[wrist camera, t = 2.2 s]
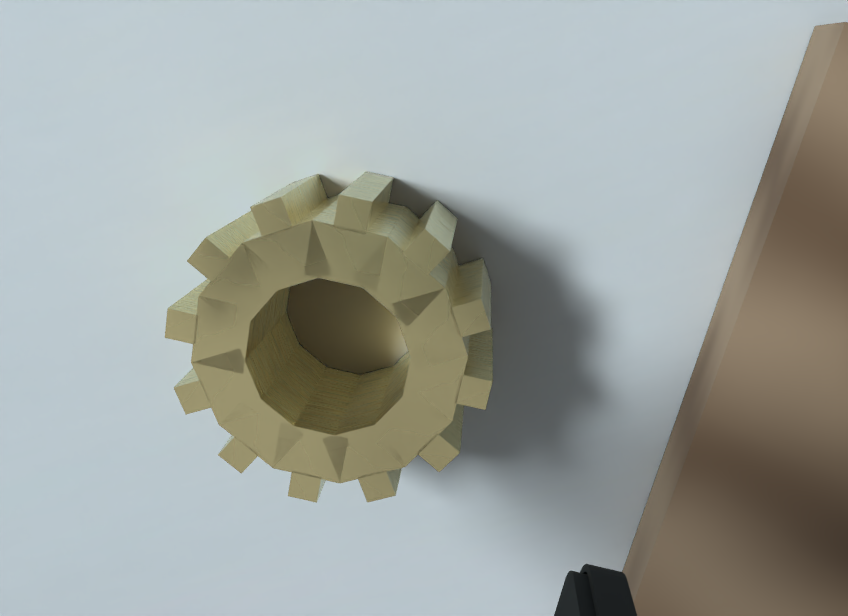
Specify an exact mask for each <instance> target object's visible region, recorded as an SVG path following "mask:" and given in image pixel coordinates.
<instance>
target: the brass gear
mask: <svg viewBox="0 0 848 616" xmlns="http://www.w3.org/2000/svg"><path fill="white" fill-rule="evenodd" d="M392 183H393V177H389V176H384V175H380V174H375V173H370V172H365V173H364V174H363V175H361V176H360V177H359V178H358V179H357V180H355V181H354V182H353V183H352V184H351V185H349V186H348V187H347V188H346V189H345V190H343V191H342V192H341V193H340V194H339V195H337V196H334V197H331V198H327V196H326V193H325V190H324V187H323V185H322V182H321V179H320V177H319V174H317V175H314V176H311V177H308V178H304V179H301V180H298V181H295V182H293V183H291V184H289V185H287V186H286V187H284V188H282V189H281V190H279V191H277V192H275V193H274V194H272V195H270V196H268V197H267V198H265V199H263V200H262V201H260V202H258V203H256V204H255V205H253V206H251V207H250V208H251V211H250V212H248V213H246V214H245V215H243V216H241V217H239V218H238V219H236V220H234V221H233V222H231V223H229V224H228V225H226V226H224V227H223V228H221V229H219V230H218V231H216V232H214V233H213V234H211V235H209V236H208V237H206V238H205V239H204V240H203V242H202V243H201V244H200V245H199V247H198V248H197V249H196V250H195V252H194V253H193V254H192V255H191V257H190V258H189V259H188V260H187V262H189V263H190V264H191V265H192V266H193V267H195V268H196V269H197V270H198V271H199V272H200V273H202V274H203V275H204V276H205V277H206V278H208V279H207V280H205V281H204V282H203V283H201V284H200V285H199V286H197V287H196V288H195V289H193V290H192V291H191V292H189V293H188V294H187V295H185V296H184V297H182V298H181V299H180V300H178V301H177V302H176V303H174V304H173V305H172V306H170V307H169V308H168V311H167V321H166V331H165V338H169V339H173V340H178V341H182V342H187V343H191V344H193V350H192V359H191V363H192V365H193V369H192V370H191V371H190V372H189V373H188V374H187V375H186V376H185V377H184V378H183V379H182V380H181V381H180V382H179V383H178V384H177V385H176V386H175V387H174V390H175V392H176V394H177V396H178V398H179V400H180V403H181V405H182V407H183V409H184V411H185V414H189V413H193V412H197V411H200V410H204V409H207V408H212V410H213V413H214V415H215V417H216V419H217V421H218V424H219V425H220V426H221V427H222V428H224V429H225V430H226V431H227V432H229V433H230V434H231V435H232V436H231V437H230V439H229V440H228V441H227V443H226V444H225V446H224V447H223V448H222V450H221V451H220V453H219V454H218V455H219V456H220V457H221V458H222V459H224V460H225V461H226V462H227V463H229V464H230V465H231V466H232V467H234V468H235V469H236V470H238V471H239V472H240V473H242V472H243V471H244V470H245V469H246V468H247V467H248V466H249V465H250V464H251V463H252V462H253V461H254V459H255V458H256V457H257V456H259V457H260V458H261V459H262V460H264V461H265V462H266V463H267V464H269V465H270V466H271V467H272V468H275V469H279V470H284V471H288V472H292V474H291V480H290V486H289V492H288V496H290V497H295V498H299V499H304V500H308V501H312V502H317V501H318V498H319V496H320V493H321V491H322V488H323V486H324V483H325V481H326V480H327V481H332V482H336V483H343V482H347V481H351V480H355V479H358V480H359V482H360V485H361V487H362V490H363V492H364V495H365V497H366V500H367V502H371V501H375V500H379V499H383V498H388V497H392V496H396V491H397V487H398V482H399V478H400V474H401V469H402V468H403V467H406V466H407V465H408V464H409V463H410V462H411V461H412V460H413V459H414V458H415V457H416V456H417V455H419V456H420V457H422V458H423V459H424V460H425V461H426V462H428V463H429V464H430V465H431V466H432V467H434V468H435V469H436V470H437V471H438V472H440V471H441V470H442V469H443V468H444V467H445V466H446V465H447V464H448V463H450V462H451V461H452V460H453V459H454V458H455V457H456V456H457V455H458V454H459V453H460V446H461V434H462V421H463V409H464V405H465V406H470V407H474V408H479V409H483V410H485V409H486V405H487V402H488V398H489V394H490V390H491V386H492V382H493V343H492V328H491V282H490V279H489V276H488V272H487V269H486V266H485V263H484V260H483V259H479V260H476V261H473V262H469V263H466V264H463V265H458V262H457V259H456V256H455V253H454V249H453V248H452V247H451V245H452V241H453V236H454V232H455V228H456V223H457V218H456V217H455V216H454V215H453V214H452V213H451V212H450V211H448V210H447V209H446V208H445V207H444V206H443V205H442V204H441V203H440V202H439V201H437V200H436V201H435V203H434V204H433V205H432V206H431V207H430V208H429V209H428V210H427V211H426V213H425V214H424V215H423V216H422V217H421V218H420V219H419V218H418V217H417V216H416V215H415V214H414V213H413V212H411V211H410V210H409V209H408V208H407V207H405V206H400V205H396V204H391V203H389V199H390V194H391V188H392ZM316 278H321V279H326V280H330V281H335V282H339V283H344V284H348V285H353V286H357V287H362V288H363V289H365V290H366V291H367V292H368V293H369V294H370V295H372V296H373V297H374V298H375V299H376V300H377V301H378V302H380V303H381V304H382V305H383V306H384V307H385V308H386V309H388V310H389V311H390V312H391V313H392V314H393V315H395V316H396V317H397V320H398V323H399V325H400V328H401V331H402V334H403V337H404V339H405V342H406V345H407V348H408V352H407V353H406V354H405V355H404V356H403V357H402V358H401V359H400V360H399V361H398V362H397V363H396V364H395V365H394V366H391V367H388V368H384V369H380V370H377V371H373V372H370V373H366V374H362V375H359V374H354V373H350V372H345V371H341V370H336V369H332V368H328V367H325V366H324V365H323V364H322V363H321V362H319V361H318V360H317V359H316V358H315V357H314V356H312V355H311V354H310V353H309V352H308V351H306V350H305V349H304V348H303V347H302V346H300V345H299V343H298V340H297V338H296V335H295V333H294V330H293V328H292V325H291V323H290V320H289V318H288V315H287V313H286V310H287V303H288V297H289V290H290V286H293V285H297V284H300V283H303V282H306V281H310V280H313V279H316Z"/></svg>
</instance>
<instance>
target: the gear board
mask: <svg viewBox="0 0 848 616" xmlns="http://www.w3.org/2000/svg"><path fill="white" fill-rule="evenodd" d="M622 572H623V573H624V574H625V575H626V578H627V581H628V584H629V588H630V591H631V595H632V599H633V602H634V606H635V609H636V613H637V616H848V23H847V22H842V23H835V24H827V25H819V26H815V27H814V30H813V33H812V36H811V39H810V42H809V44H808V47H807V50H806V53H805V56H804V59H803V61H802V64H801V67H800V70H799V73H798V76H797V78H796V81H795V84H794V87H793V90H792V93H791V95H790V98H789V101H788V104H787V107H786V110H785V112H784V115H783V118H782V121H781V124H780V127H779V129H778V132H777V135H776V138H775V141H774V144H773V146H772V149H771V152H770V155H769V158H768V161H767V163H766V166H765V169H764V172H763V175H762V178H761V180H760V183H759V186H758V189H757V192H756V195H755V197H754V200H753V203H752V206H751V209H750V212H749V214H748V217H747V220H746V223H745V226H744V229H743V231H742V234H741V237H740V240H739V243H738V246H737V248H736V251H735V254H734V257H733V260H732V263H731V265H730V268H729V271H728V274H727V277H726V280H725V282H724V285H723V288H722V291H721V294H720V297H719V299H718V302H717V305H716V308H715V311H714V314H713V316H712V319H711V322H710V325H709V328H708V331H707V333H706V336H705V339H704V342H703V345H702V348H701V350H700V353H699V356H698V359H697V362H696V365H695V367H694V370H693V373H692V376H691V379H690V382H689V384H688V387H687V390H686V393H685V396H684V398H683V401H682V404H681V407H680V410H679V413H678V415H677V418H676V421H675V424H674V427H673V430H672V432H671V435H670V438H669V441H668V444H667V447H666V449H665V452H664V455H663V458H662V461H661V464H660V466H659V469H658V472H657V475H656V478H655V481H654V483H653V486H652V489H651V492H650V495H649V498H648V500H647V503H646V506H645V509H644V512H643V515H642V517H641V520H640V523H639V526H638V529H637V532H636V534H635V537H634V540H633V543H632V546H631V549H630V551H629V554H628V557H627V560H626V563H625V566H624V568H623V571H622Z"/></svg>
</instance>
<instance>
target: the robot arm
mask: <svg viewBox="0 0 848 616" xmlns="http://www.w3.org/2000/svg"><path fill="white" fill-rule="evenodd" d="M554 616H637V613H636V609H635V606H634V602H633V599H632V595H631V591H630V588H629V584H628V581H627V578H626V575H625V574H624V573H623V572H619V571H615V570H611V569H606V568H602V567H598V566H594V565H589V564H585V565H584V566H583V568H582V569H581V572H580V573H579V572H574V571H569V573H568V574H567V576H566V579H565V582H564V585H563V589H562V592H561V595H560V598H559V602H558V605H557V608H556V611H555V614H554Z"/></svg>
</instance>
